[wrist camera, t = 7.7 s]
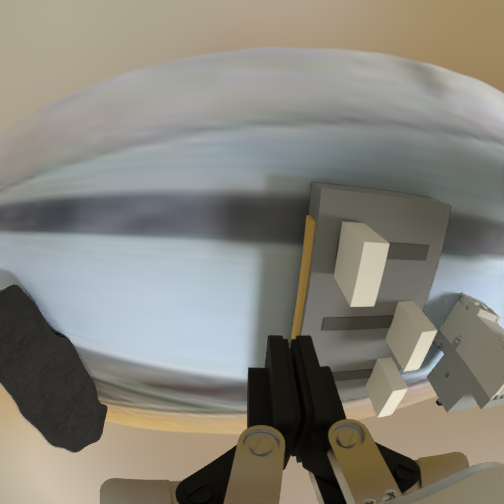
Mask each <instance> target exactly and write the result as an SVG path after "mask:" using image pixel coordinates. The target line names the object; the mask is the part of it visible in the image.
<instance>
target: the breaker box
mask: <svg viewBox="0 0 504 504" xmlns="http://www.w3.org/2000/svg"><path fill="white" fill-rule="evenodd" d="M450 210H451V206H449V205H447V204H445V203H442V202H440V201H437V200H435V199H432V198H429V197H424V196H418V195H412V194H406V193H399V192H393V191H386V190H379V189H371V188H363V187H355V186H346V185H337V184H327V183H316V182H311V192H310V204H309V214H308V215H306V225H305V234H304V243H303V252H302V261H301V269H300V277H299V284H298V292H297V299H296V306H295V313H294V320H293V326H292V333H291V339H296V336H297V335H310V336H311V337H312V341H313V344H314V347H315V351H316V354H317V358H318V361H319V365H320V366H329V367H330V369H331V371H332V374H333V377H334V380H335V384H336V387H337V390H338V393H339V396H340V400H344V399H353V398H361V397H370V399H371V402H372V405H373V407H374V410H375V413H376V416H377V417H383V416H388V415H392V413H393V412H394V410H395V409H396V407H397V405H398V404H399V402H400V401H401V399H402V397H403V396H404V394H405V393H406V391H407V389H408V387H407V386H406V384H405V382H404V380H403V378H402V376H401V374H400V372H399V370H398V368H399V366H401V368H402V370H403V372H406V371H411V370H417V369H419V368H420V366H421V364H422V362H423V360H424V358H425V356H426V354H427V352H428V350H429V348H430V346H431V344H432V342H433V339H434V337H435V335H436V333H437V331H438V330H437V329H436V328H435V326H434V325H433V324H432V323H431V321H430V320H429V319H428V318H427V317H426V315H425V314H424V313H423V310H424V307H425V304H426V301H427V298H428V295H429V292H430V289H431V286H432V283H433V280H434V277H435V273H436V270H437V267H438V263H439V259H440V256H441V252H442V248H443V244H444V239H445V235H446V231H447V226H448V221H449V216H450ZM342 221H343V222H356V223H364V224H366V225H367V226H368V227H370V228H371V229H372V230H373V231H375V232H376V233H377V234H378V235H380V236H381V237H382V238H383V239H385V240H386V241H387V242H388V243H390V244H389V249H388V254H387V258H386V263H385V267H384V271H383V275H382V279H381V283H380V287H379V291H378V294H377V298H376V302H375V305H374V306H368V307H350V305H349V303H348V302H347V300H346V298H345V296H344V294H343V292H342V291H341V289H340V287H339V285H338V283H337V282H336V280H335V278H334V271H335V265H336V259H337V253H338V247H339V240H340V234H341V227H342ZM291 339H290V342H291ZM289 348H290V345H289Z"/></svg>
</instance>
